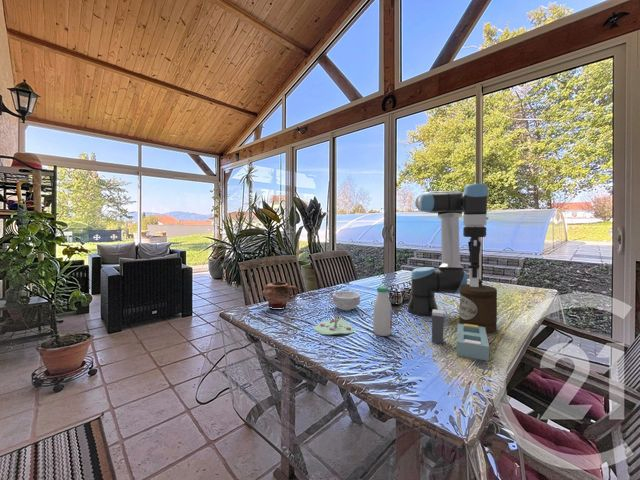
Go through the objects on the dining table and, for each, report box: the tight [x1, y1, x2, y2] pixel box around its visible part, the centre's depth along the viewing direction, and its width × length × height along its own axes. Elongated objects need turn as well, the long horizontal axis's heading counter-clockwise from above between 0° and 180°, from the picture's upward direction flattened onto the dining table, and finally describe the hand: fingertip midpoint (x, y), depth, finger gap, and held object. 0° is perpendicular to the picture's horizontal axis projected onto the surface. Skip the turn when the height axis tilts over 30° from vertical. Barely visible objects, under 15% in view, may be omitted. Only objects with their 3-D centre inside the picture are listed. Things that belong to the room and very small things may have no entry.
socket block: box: [456, 323, 490, 362], centre depth 109 cm, size 10×20×5 cm, turn 154°
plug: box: [431, 309, 445, 345], centre depth 114 cm, size 4×4×12 cm
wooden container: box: [458, 278, 498, 334], centre depth 129 cm, size 15×15×22 cm
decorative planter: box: [261, 281, 299, 308], centre depth 161 cm, size 20×12×14 cm, turn 105°
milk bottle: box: [372, 285, 393, 337], centre depth 123 cm, size 8×8×20 cm
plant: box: [312, 310, 355, 336], centre depth 133 cm, size 25×21×9 cm
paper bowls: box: [332, 290, 361, 311], centre depth 159 cm, size 15×15×8 cm
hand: (473, 282), depth 108 cm, fingers open, 13 cm apart
